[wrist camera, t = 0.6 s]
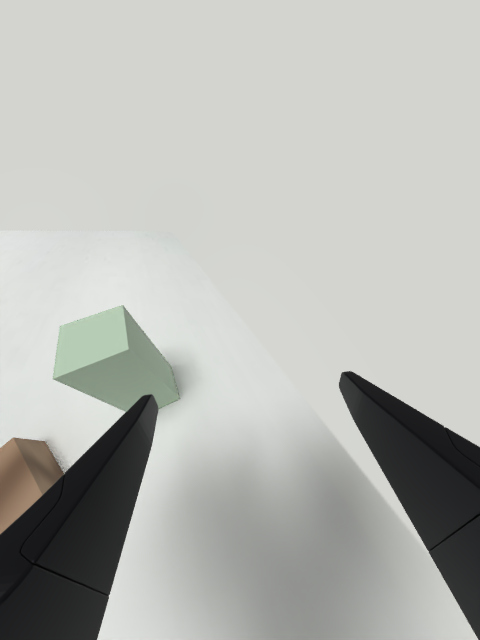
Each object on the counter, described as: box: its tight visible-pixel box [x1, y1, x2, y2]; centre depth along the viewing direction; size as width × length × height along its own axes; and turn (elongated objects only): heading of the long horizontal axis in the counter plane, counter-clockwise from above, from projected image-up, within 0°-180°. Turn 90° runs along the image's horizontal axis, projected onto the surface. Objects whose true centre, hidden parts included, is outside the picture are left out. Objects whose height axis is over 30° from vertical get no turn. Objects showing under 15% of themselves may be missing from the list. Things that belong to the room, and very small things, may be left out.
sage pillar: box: [53, 305, 180, 412], centre depth 20 cm, size 5×5×13 cm
